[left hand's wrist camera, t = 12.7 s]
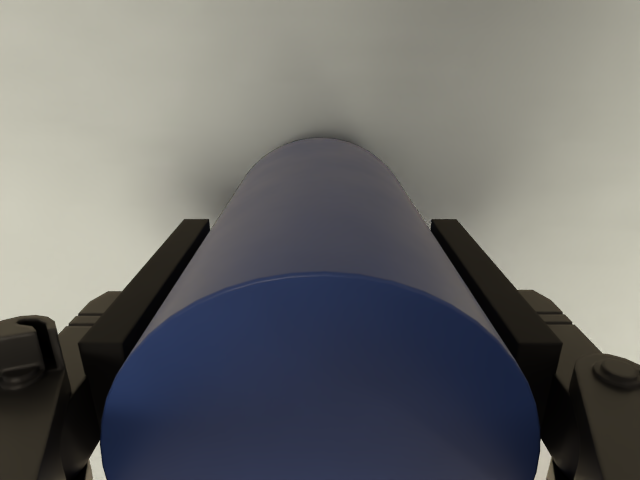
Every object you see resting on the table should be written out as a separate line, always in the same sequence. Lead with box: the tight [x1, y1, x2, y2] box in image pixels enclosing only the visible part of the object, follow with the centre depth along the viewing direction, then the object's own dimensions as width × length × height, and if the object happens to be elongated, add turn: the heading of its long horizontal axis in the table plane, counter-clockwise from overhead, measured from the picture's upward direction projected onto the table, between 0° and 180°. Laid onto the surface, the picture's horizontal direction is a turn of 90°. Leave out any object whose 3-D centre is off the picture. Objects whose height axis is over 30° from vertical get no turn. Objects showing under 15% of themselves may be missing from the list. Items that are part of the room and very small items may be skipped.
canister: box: [100, 138, 540, 480], centre depth 12 cm, size 7×7×11 cm
